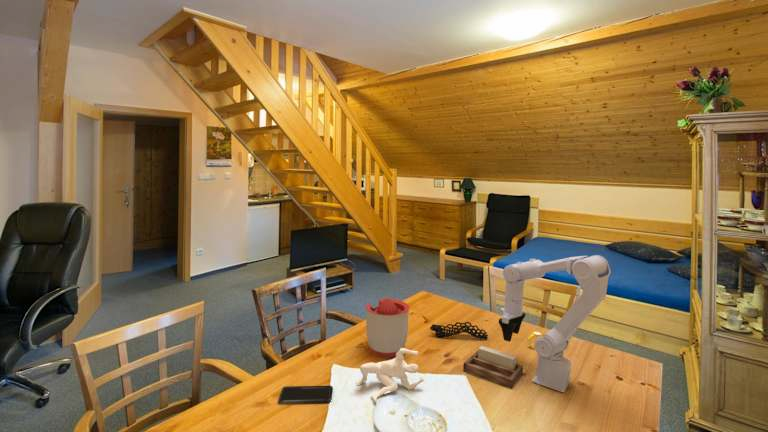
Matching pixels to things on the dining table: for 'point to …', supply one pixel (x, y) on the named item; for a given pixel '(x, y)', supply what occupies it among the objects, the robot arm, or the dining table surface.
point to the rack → (492, 371)
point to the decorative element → (458, 330)
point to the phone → (306, 395)
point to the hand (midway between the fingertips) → (511, 336)
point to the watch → (532, 336)
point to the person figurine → (390, 372)
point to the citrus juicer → (387, 327)
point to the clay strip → (497, 357)
